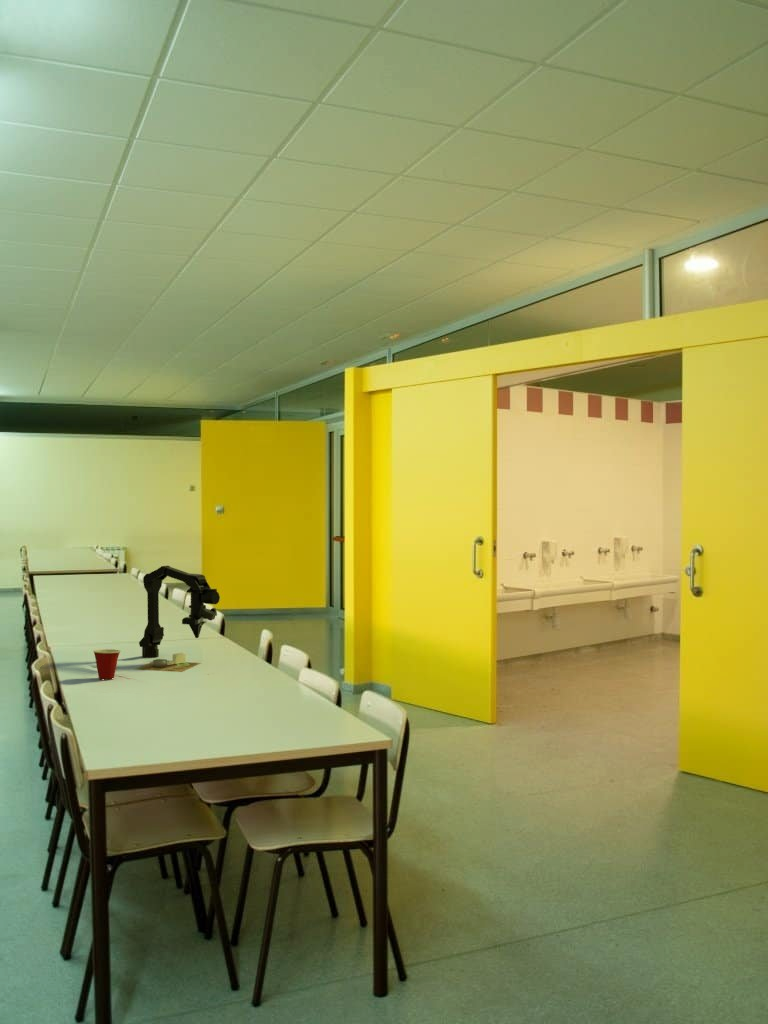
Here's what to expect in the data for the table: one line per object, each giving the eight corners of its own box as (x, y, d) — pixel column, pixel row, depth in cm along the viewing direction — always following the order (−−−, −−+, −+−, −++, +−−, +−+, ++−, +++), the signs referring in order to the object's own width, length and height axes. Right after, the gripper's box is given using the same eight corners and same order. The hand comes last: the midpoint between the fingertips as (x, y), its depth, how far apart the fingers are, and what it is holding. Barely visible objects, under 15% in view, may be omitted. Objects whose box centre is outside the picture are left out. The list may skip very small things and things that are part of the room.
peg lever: (157, 667, 368) (157, 658, 368) (150, 665, 373) (150, 656, 373) (187, 663, 379) (187, 653, 379) (180, 661, 383) (180, 652, 383)
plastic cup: (126, 677, 355) (126, 648, 355) (107, 682, 345) (107, 652, 345) (106, 675, 360) (106, 646, 360) (87, 680, 350) (87, 650, 350)
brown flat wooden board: (133, 672, 367) (133, 669, 366) (156, 663, 387) (156, 660, 387) (181, 674, 362) (181, 671, 362) (202, 665, 382) (202, 662, 382)
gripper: (205, 606, 373) (205, 642, 373) (222, 601, 391) (222, 635, 391) (181, 605, 375) (181, 640, 375) (199, 600, 393) (199, 634, 393)
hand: (197, 637), depth 384 cm, fingers closed
